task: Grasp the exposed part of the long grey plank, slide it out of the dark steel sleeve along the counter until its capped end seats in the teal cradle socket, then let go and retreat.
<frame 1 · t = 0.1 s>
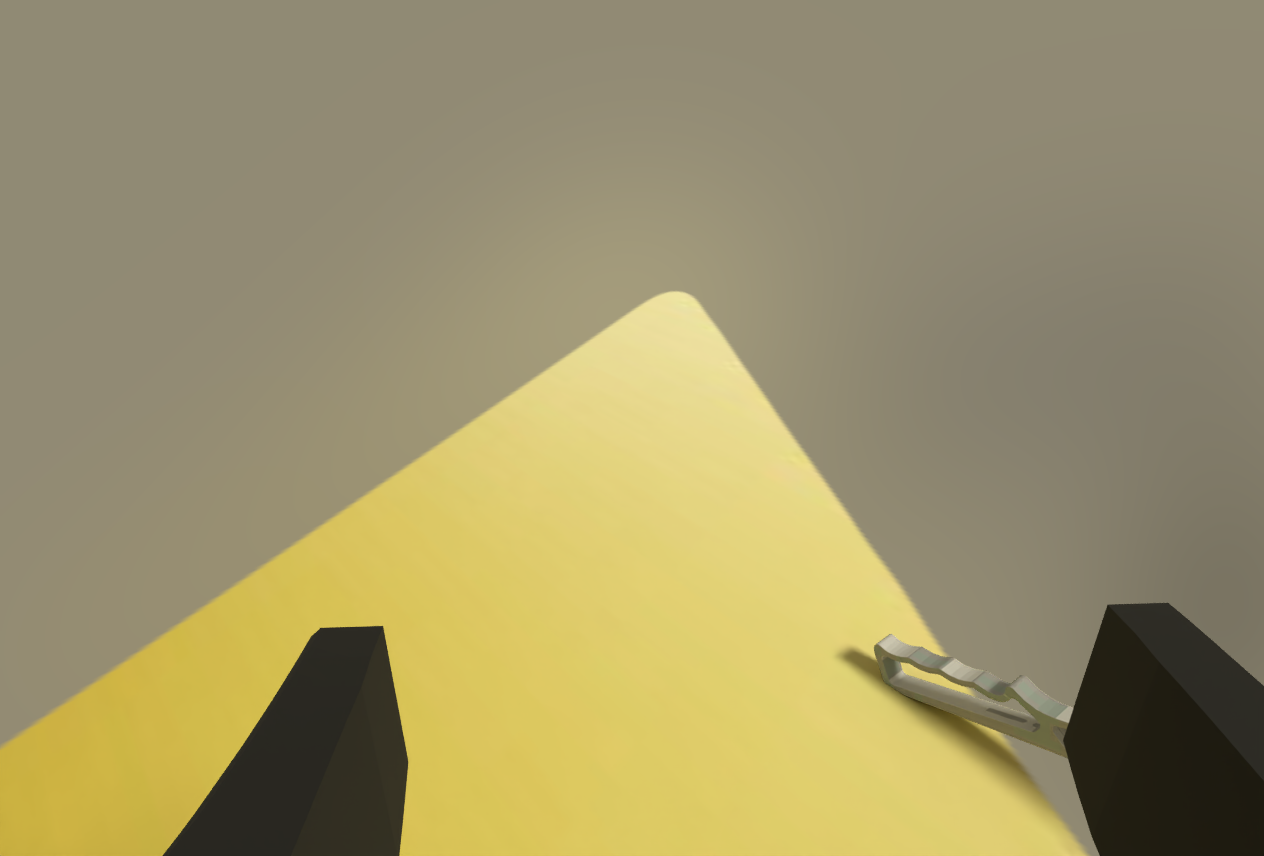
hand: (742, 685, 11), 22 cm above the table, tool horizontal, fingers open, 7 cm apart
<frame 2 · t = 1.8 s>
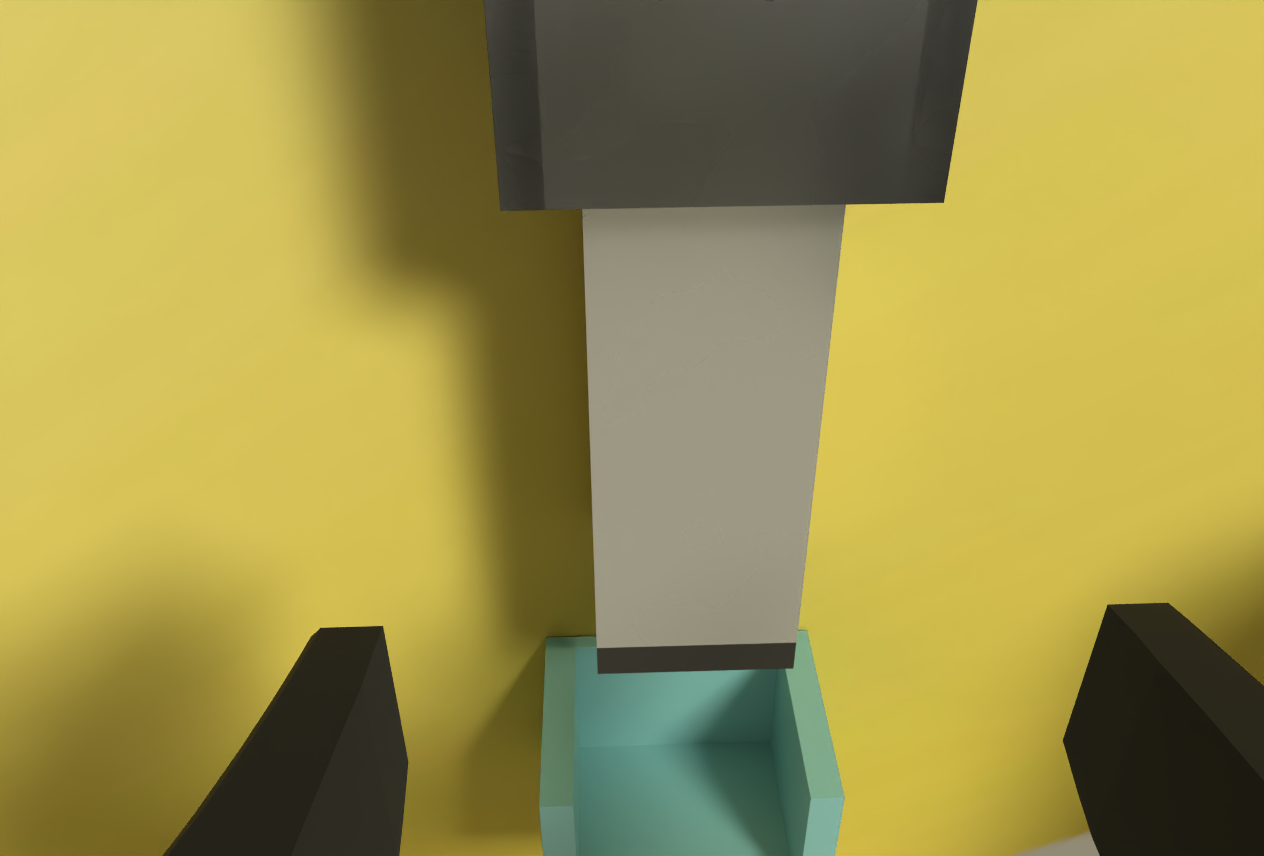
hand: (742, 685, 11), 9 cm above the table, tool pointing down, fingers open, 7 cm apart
long grey plank: (700, 234, 15), point 2 cm above the table, slide at 0.0 cm
socket: (675, 694, 24), on the table
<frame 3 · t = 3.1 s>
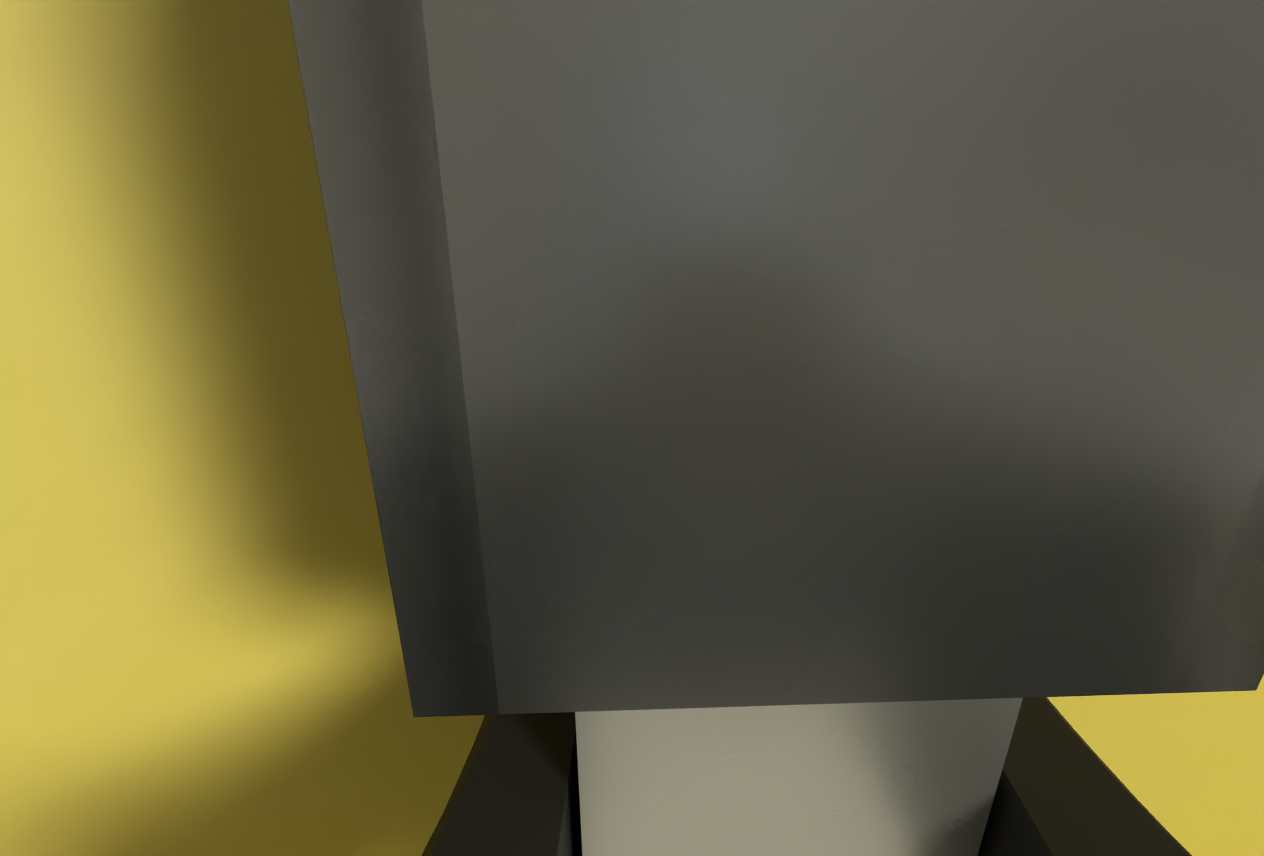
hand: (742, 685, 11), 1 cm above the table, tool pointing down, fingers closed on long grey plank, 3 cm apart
long grey plank: (765, 595, 9), point 2 cm above the table, slide at 0.0 cm, touching gripper
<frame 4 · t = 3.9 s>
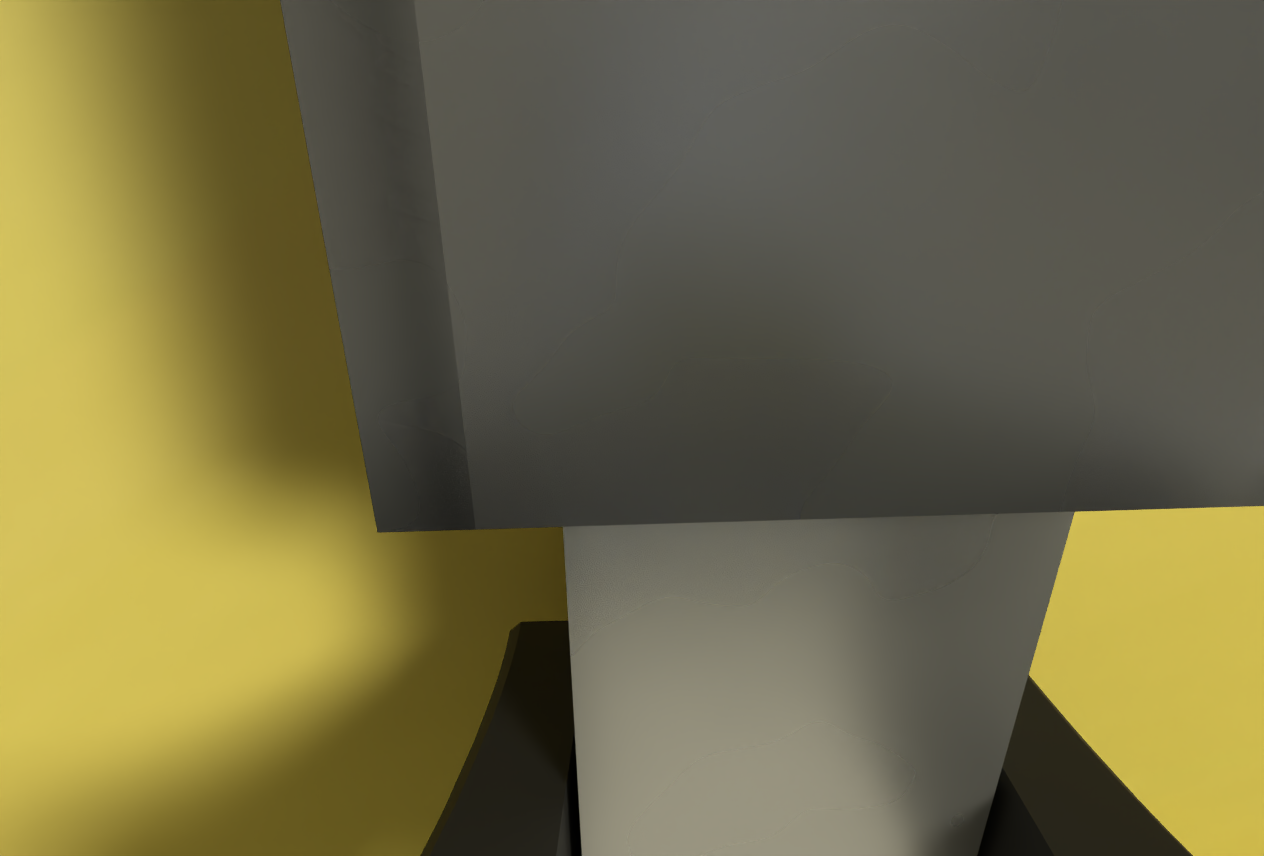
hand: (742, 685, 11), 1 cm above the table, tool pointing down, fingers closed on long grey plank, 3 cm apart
long grey plank: (765, 592, 9), point 2 cm above the table, slide at 1.4 cm, touching gripper
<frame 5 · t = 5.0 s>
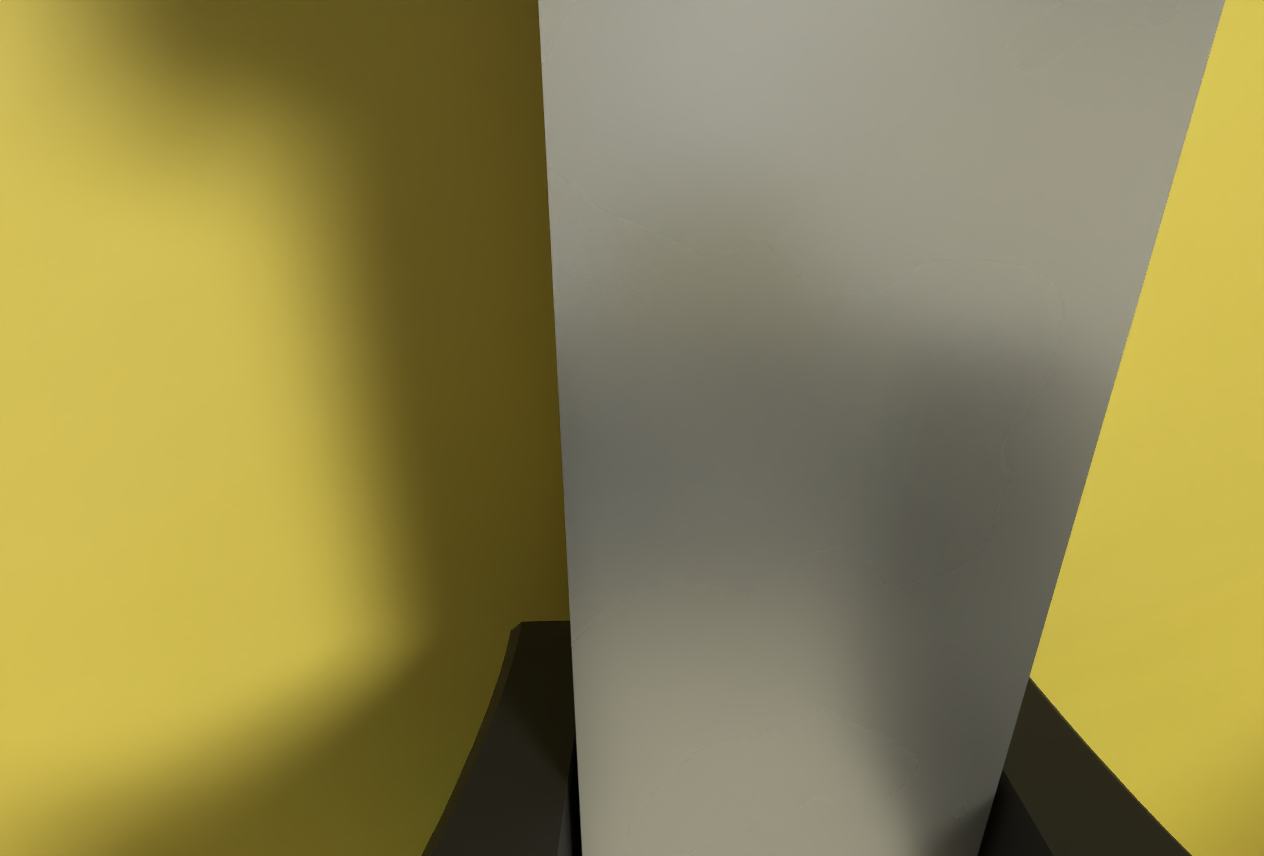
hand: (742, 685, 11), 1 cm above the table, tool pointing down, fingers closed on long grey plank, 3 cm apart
long grey plank: (766, 581, 9), point 2 cm above the table, slide at 5.3 cm, touching gripper
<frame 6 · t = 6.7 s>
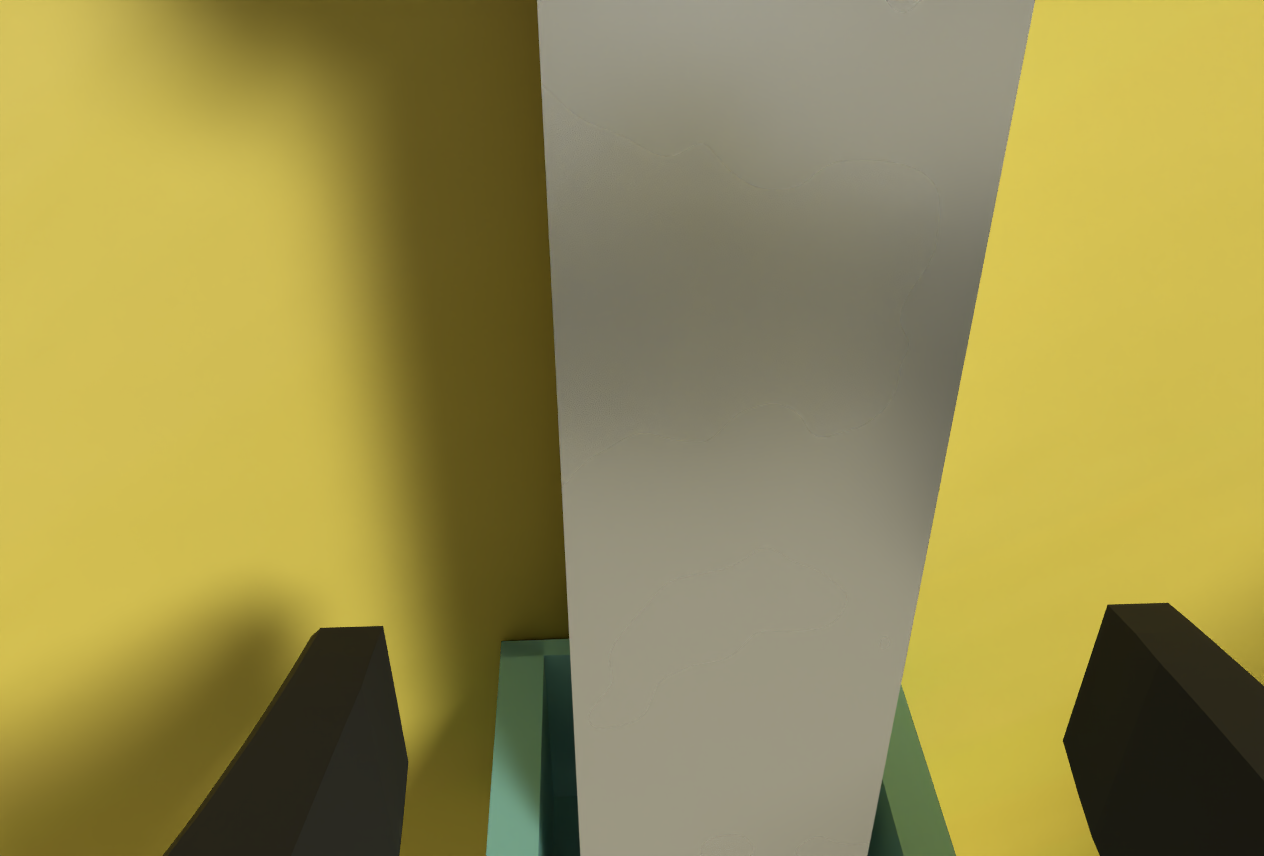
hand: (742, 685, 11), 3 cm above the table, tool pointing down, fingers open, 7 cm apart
long grey plank: (725, 461, 11), point 2 cm above the table, slide at 5.3 cm
socket: (690, 722, 17), on the table
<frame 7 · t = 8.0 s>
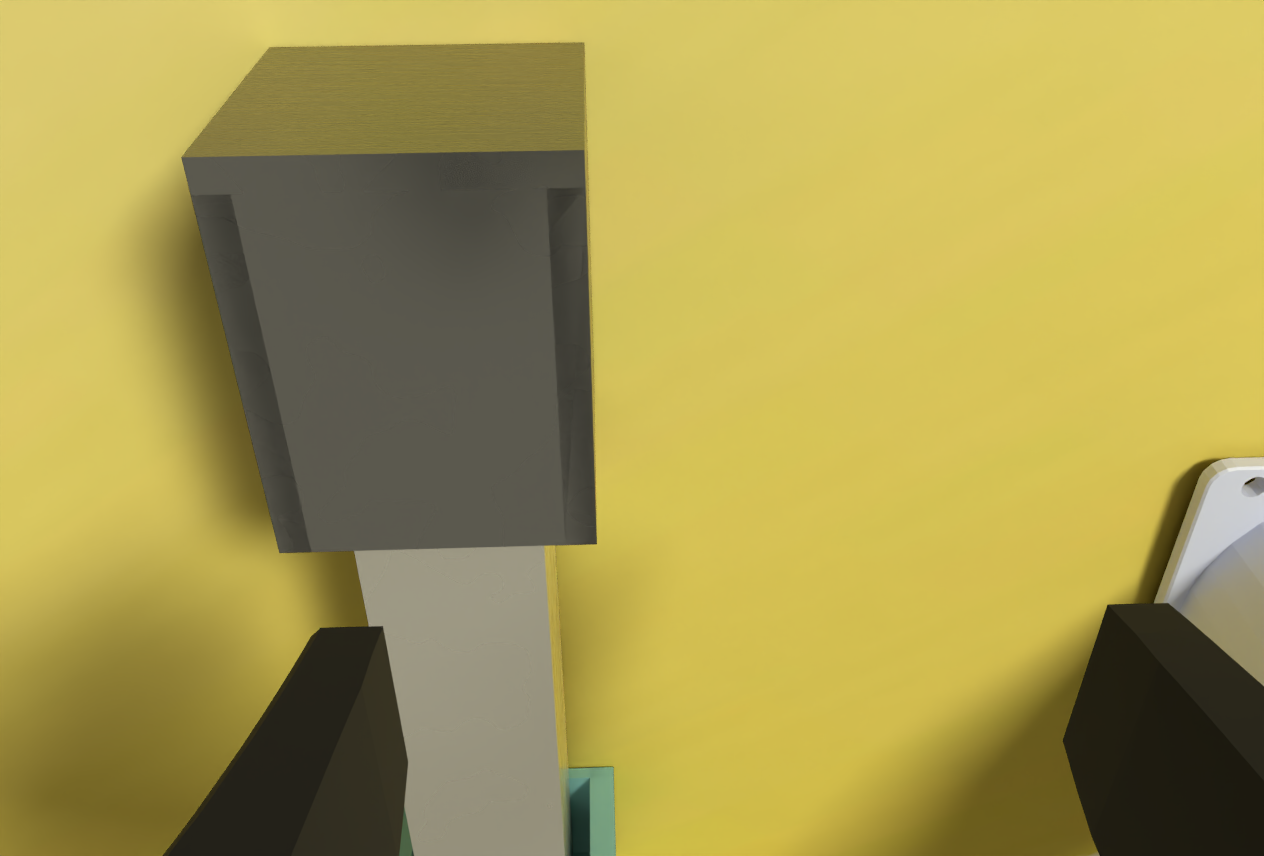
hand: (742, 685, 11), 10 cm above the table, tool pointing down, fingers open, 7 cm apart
long grey plank: (485, 714, 23), point 2 cm above the table, slide at 5.3 cm
sleeve: (449, 245, 20), on the table
socket: (511, 815, 29), on the table
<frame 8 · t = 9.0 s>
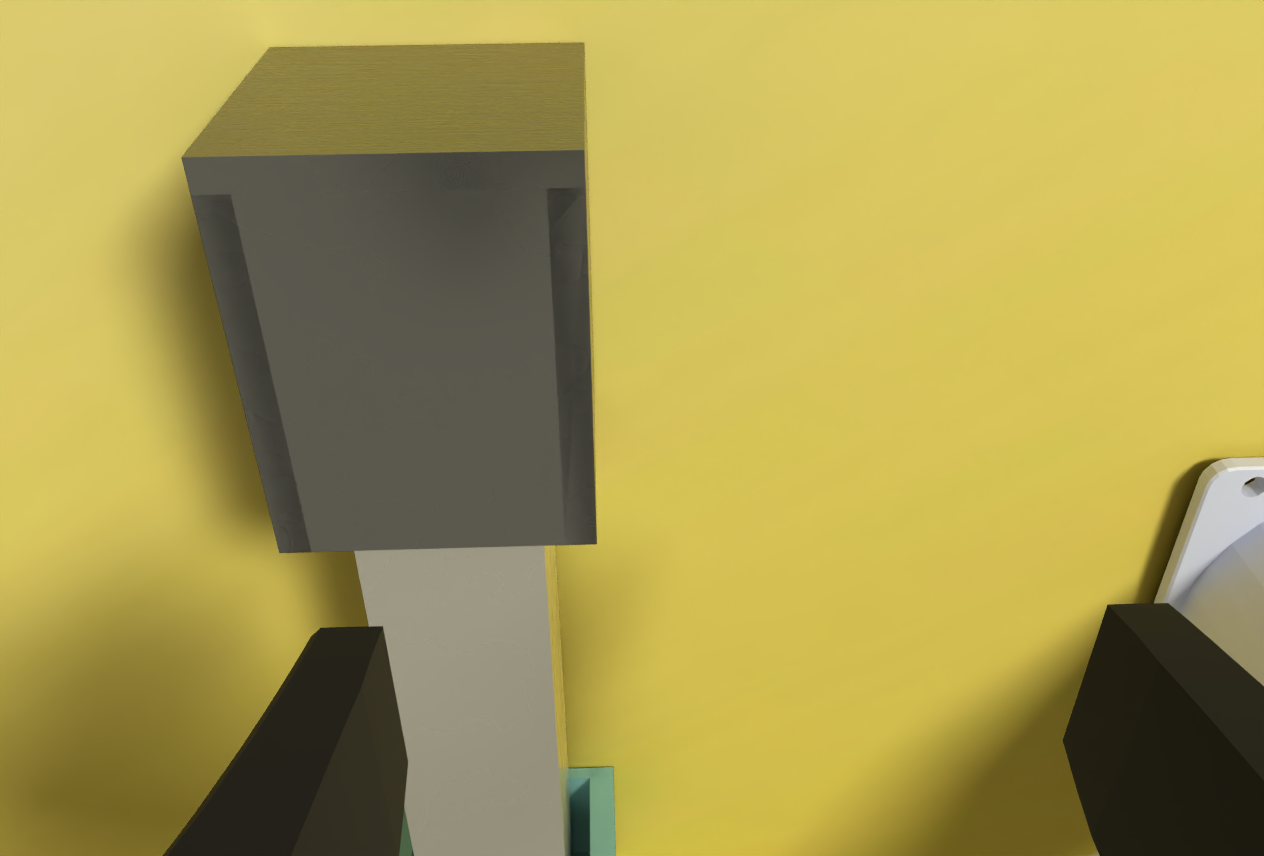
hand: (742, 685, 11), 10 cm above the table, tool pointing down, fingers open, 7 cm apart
long grey plank: (485, 714, 23), point 2 cm above the table, slide at 5.3 cm
sleeve: (449, 245, 20), on the table
socket: (511, 815, 29), on the table
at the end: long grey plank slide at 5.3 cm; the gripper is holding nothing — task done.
